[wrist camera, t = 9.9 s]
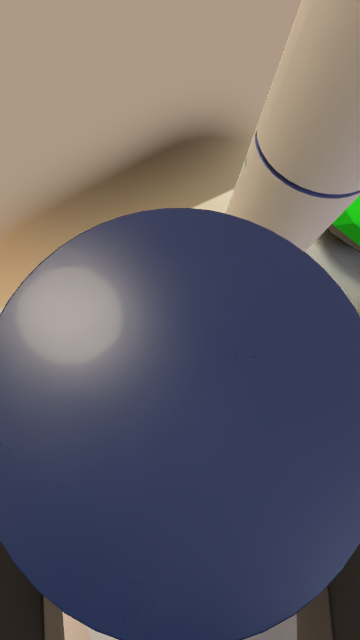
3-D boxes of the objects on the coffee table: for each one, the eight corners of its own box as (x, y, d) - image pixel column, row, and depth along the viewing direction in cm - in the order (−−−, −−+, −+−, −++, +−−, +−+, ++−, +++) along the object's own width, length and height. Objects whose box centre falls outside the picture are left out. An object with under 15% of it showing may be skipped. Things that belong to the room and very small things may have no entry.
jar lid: (2, 574, 6) (-90, 676, 4) (51, 252, 8) (12, 199, 6) (350, 553, 7) (445, 631, 4) (300, 258, 9) (345, 213, 7)
